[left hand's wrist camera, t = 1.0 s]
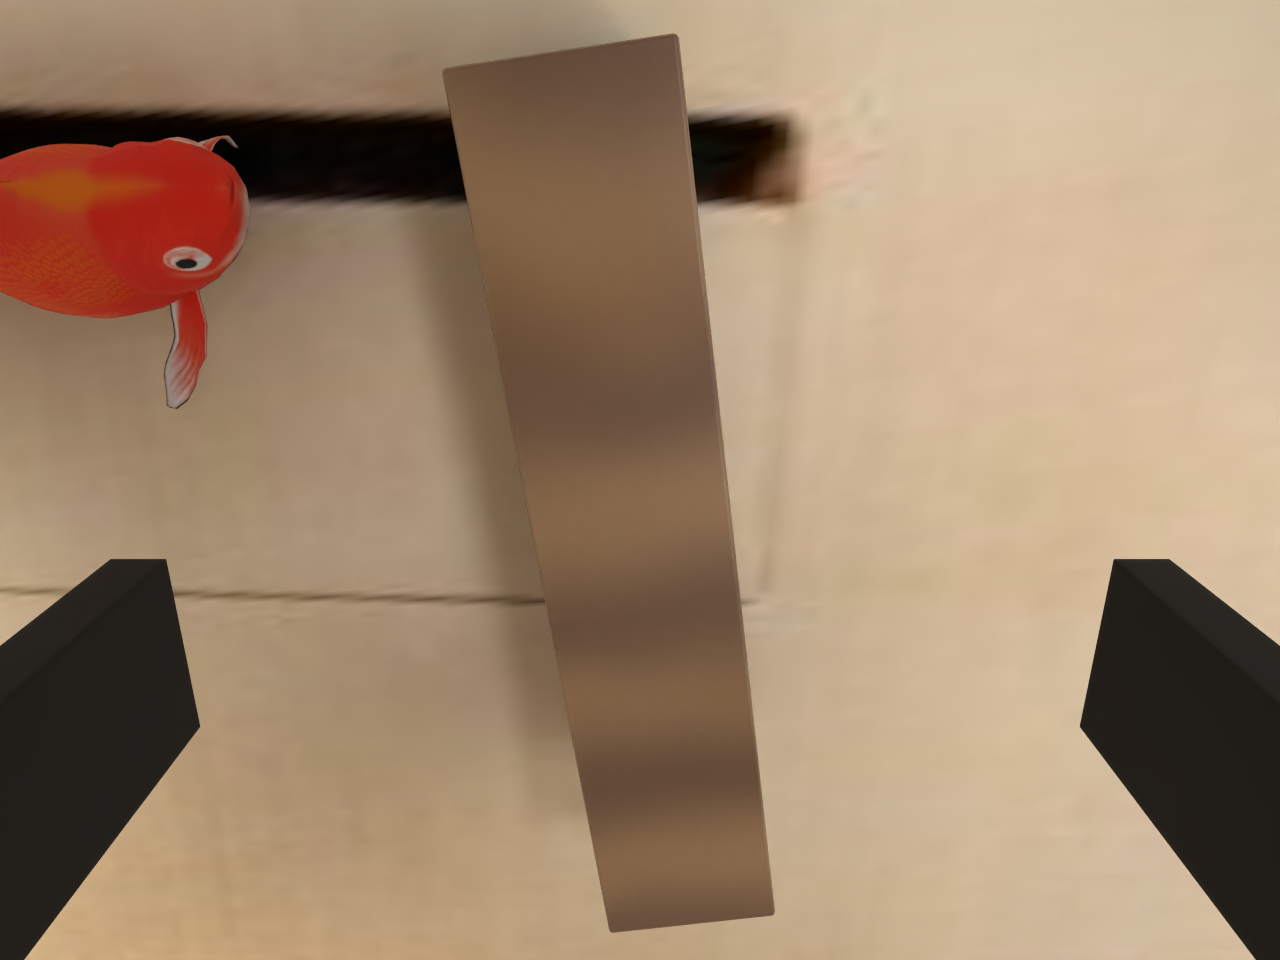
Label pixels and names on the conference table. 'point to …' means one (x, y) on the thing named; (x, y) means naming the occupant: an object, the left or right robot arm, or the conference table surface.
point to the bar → (622, 461)
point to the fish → (123, 235)
